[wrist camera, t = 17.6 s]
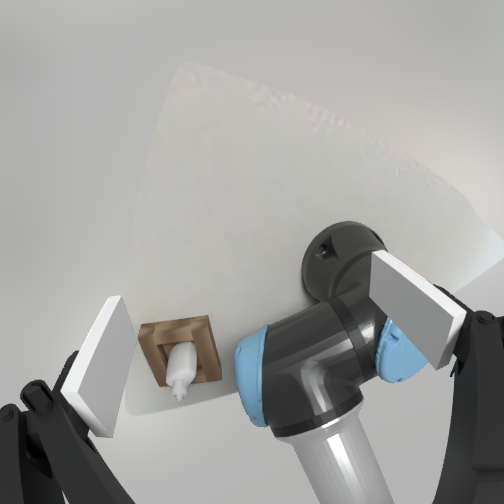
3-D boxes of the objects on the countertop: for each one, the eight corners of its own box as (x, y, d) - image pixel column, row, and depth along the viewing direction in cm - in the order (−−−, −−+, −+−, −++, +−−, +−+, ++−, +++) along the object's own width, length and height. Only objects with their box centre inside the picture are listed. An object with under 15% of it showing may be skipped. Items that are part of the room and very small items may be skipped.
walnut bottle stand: (207, 315, 47) (208, 328, 43) (220, 365, 52) (222, 379, 48) (141, 324, 46) (137, 338, 42) (161, 372, 51) (159, 386, 47)
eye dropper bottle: (201, 355, 49) (201, 406, 38) (172, 360, 49) (167, 410, 37) (194, 337, 47) (192, 388, 36) (164, 343, 47) (156, 392, 36)
